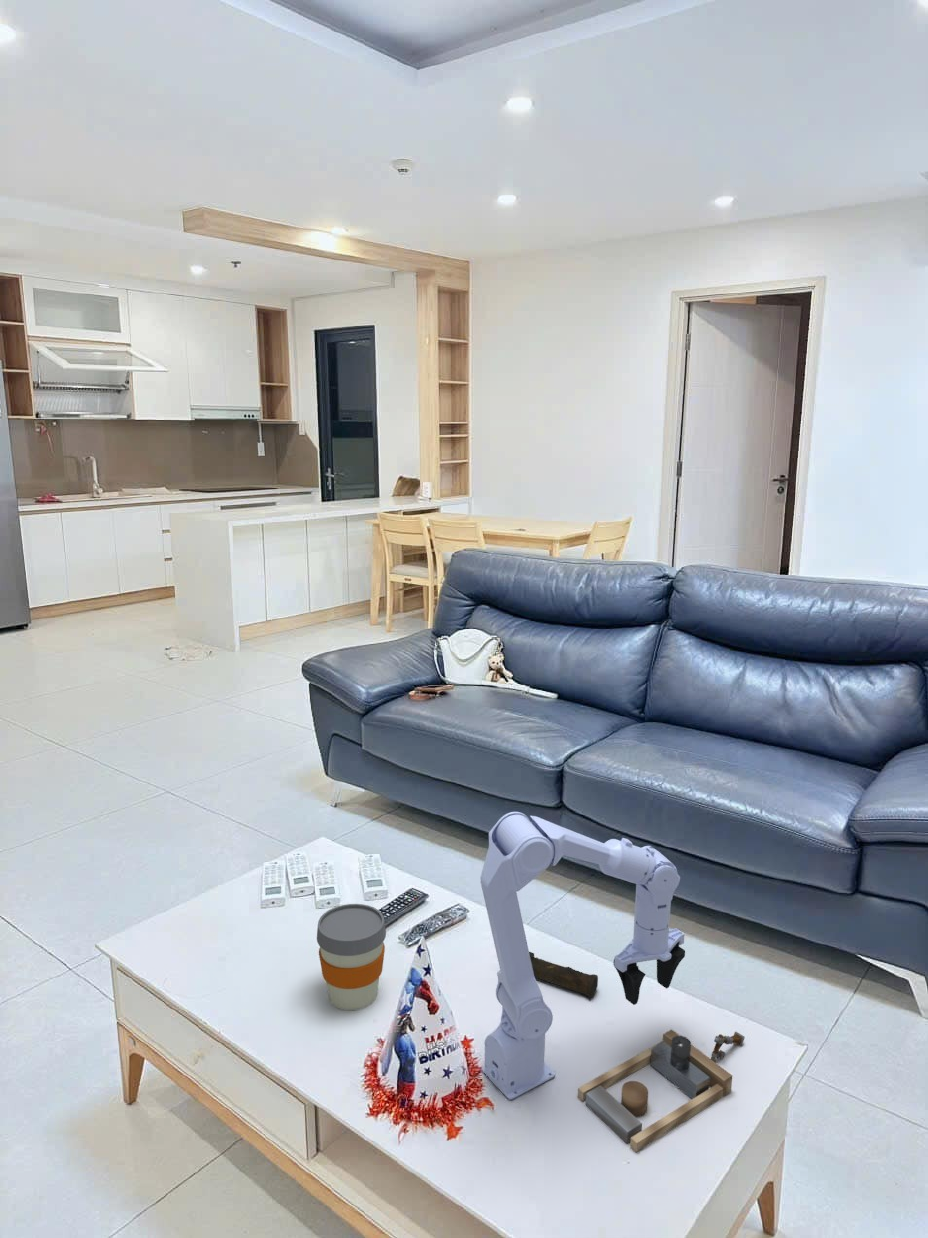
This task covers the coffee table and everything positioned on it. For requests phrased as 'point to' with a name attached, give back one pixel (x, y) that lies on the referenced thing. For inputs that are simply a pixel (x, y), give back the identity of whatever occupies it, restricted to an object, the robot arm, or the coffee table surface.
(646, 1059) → the vise frame
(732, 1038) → the jointed folding linkage
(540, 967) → the dark brown log
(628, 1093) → the brown wooden cylinder
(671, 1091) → the coffee table surface
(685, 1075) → the block
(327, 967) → the reusable coffee cup
